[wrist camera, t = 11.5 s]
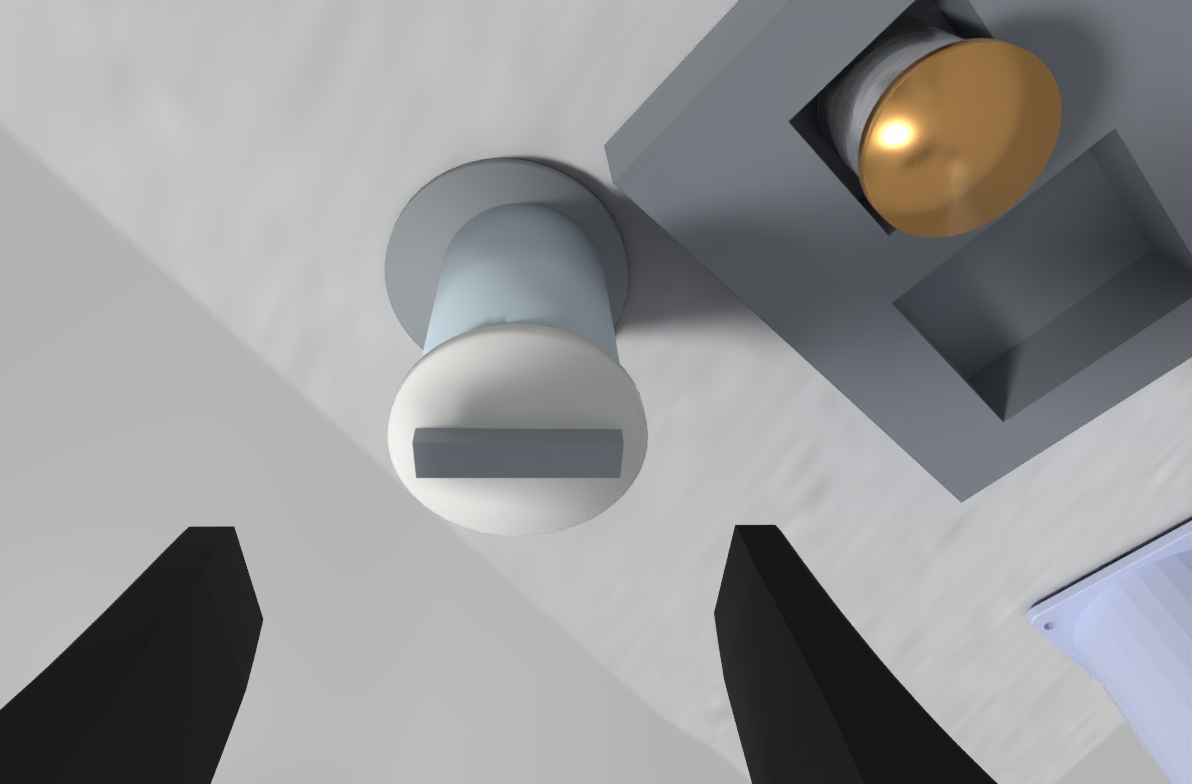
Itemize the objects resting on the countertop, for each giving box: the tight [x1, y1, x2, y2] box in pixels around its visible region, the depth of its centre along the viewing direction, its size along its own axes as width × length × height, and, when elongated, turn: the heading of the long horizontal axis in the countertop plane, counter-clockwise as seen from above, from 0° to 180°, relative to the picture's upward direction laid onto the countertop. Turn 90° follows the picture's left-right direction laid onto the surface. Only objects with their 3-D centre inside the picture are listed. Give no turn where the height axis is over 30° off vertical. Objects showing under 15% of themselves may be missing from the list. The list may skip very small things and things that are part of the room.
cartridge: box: [388, 203, 648, 536], centre depth 16 cm, size 5×5×7 cm
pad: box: [385, 159, 629, 350], centre depth 19 cm, size 6×6×1 cm
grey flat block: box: [604, 0, 1192, 503], centre depth 17 cm, size 14×10×2 cm
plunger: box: [815, 17, 1061, 238], centre depth 15 cm, size 3×3×4 cm
